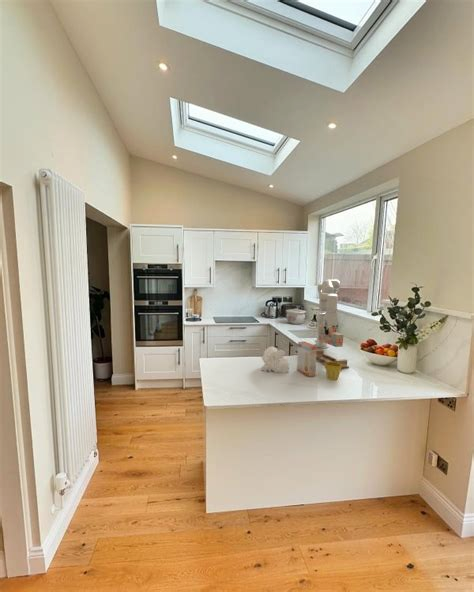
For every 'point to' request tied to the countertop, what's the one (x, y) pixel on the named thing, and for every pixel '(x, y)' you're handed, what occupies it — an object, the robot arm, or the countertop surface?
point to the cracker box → (306, 358)
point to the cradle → (330, 359)
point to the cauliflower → (275, 360)
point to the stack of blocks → (331, 337)
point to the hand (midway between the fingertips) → (330, 334)
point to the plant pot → (333, 370)
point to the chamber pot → (295, 316)
